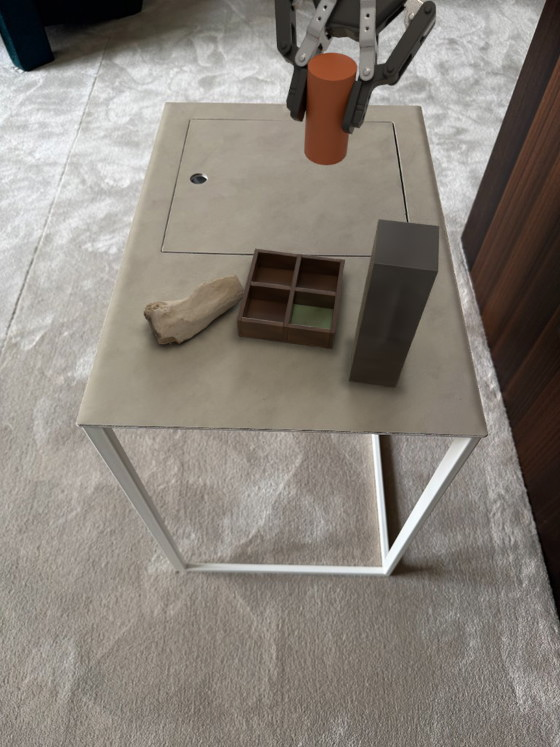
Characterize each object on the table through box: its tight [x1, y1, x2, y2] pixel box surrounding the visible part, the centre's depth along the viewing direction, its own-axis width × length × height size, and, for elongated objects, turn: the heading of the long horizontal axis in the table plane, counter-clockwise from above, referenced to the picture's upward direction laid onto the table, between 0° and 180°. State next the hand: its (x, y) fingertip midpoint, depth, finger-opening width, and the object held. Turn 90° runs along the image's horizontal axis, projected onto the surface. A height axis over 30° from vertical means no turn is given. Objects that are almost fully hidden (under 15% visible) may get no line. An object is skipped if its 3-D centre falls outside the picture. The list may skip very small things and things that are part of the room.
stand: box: [348, 218, 440, 388], centre depth 62 cm, size 6×6×22 cm
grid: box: [236, 247, 346, 350], centre depth 75 cm, size 13×13×4 cm
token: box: [303, 52, 358, 166], centre depth 47 cm, size 4×4×8 cm
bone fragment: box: [143, 274, 244, 345], centre depth 73 cm, size 14×6×5 cm, turn 119°
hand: (321, 124), depth 46 cm, fingers closed on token, 4 cm apart
